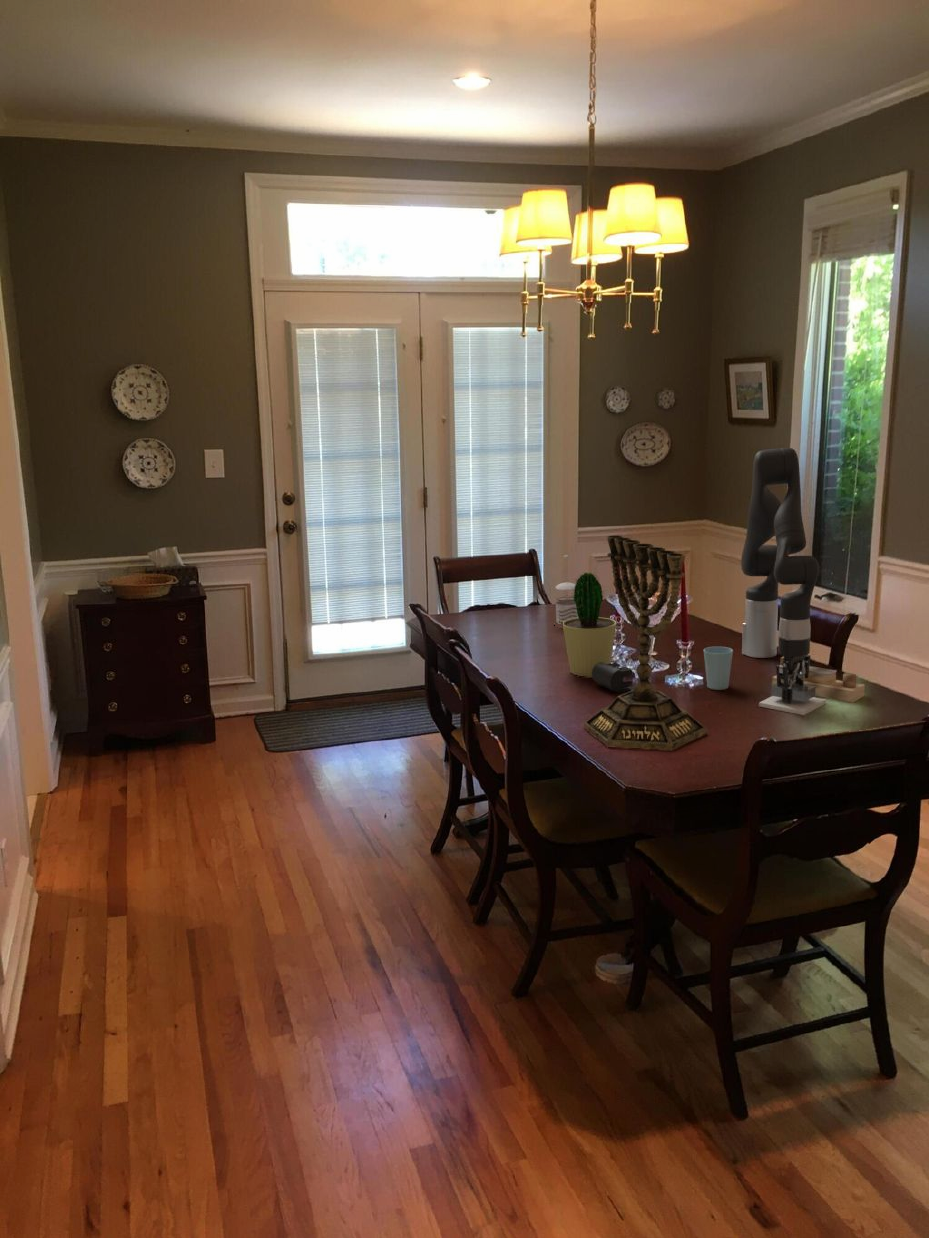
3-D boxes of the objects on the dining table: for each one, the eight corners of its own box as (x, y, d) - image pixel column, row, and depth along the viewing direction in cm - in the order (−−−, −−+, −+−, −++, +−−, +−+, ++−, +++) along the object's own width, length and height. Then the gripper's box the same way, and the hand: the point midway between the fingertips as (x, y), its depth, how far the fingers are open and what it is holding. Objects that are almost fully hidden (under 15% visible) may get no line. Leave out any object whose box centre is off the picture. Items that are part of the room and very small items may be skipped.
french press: (551, 623, 356) (549, 553, 351) (583, 621, 357) (581, 551, 352) (556, 629, 346) (554, 558, 341) (589, 627, 348) (588, 556, 342)
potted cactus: (625, 675, 287) (625, 572, 281) (576, 682, 283) (573, 577, 277) (603, 662, 302) (602, 564, 295) (555, 668, 298) (553, 568, 291)
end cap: (591, 686, 278) (591, 663, 277) (613, 682, 281) (613, 659, 280) (610, 695, 269) (610, 671, 268) (633, 691, 272) (633, 667, 271)
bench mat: (759, 706, 255) (759, 702, 255) (781, 695, 263) (781, 691, 263) (804, 715, 247) (804, 711, 246) (825, 703, 255) (825, 699, 255)
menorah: (730, 748, 226) (733, 551, 216) (627, 763, 220) (625, 560, 210) (658, 703, 261) (658, 531, 251) (567, 715, 254) (564, 539, 245)
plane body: (772, 687, 270) (772, 659, 268) (784, 681, 275) (785, 653, 273) (852, 702, 255) (853, 672, 253) (864, 695, 259) (865, 666, 258)
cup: (711, 692, 268) (712, 654, 266) (698, 684, 275) (698, 648, 273) (737, 689, 270) (738, 651, 268) (723, 681, 277) (723, 645, 275)
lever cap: (770, 695, 255) (770, 683, 255) (781, 689, 260) (782, 677, 259) (804, 701, 249) (804, 689, 248) (815, 695, 253) (815, 683, 253)
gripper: (793, 627, 258) (791, 690, 262) (766, 638, 248) (765, 703, 252) (821, 631, 253) (819, 695, 257) (795, 642, 243) (793, 709, 247)
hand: (792, 699), depth 255 cm, fingers closed on lever cap, 6 cm apart
